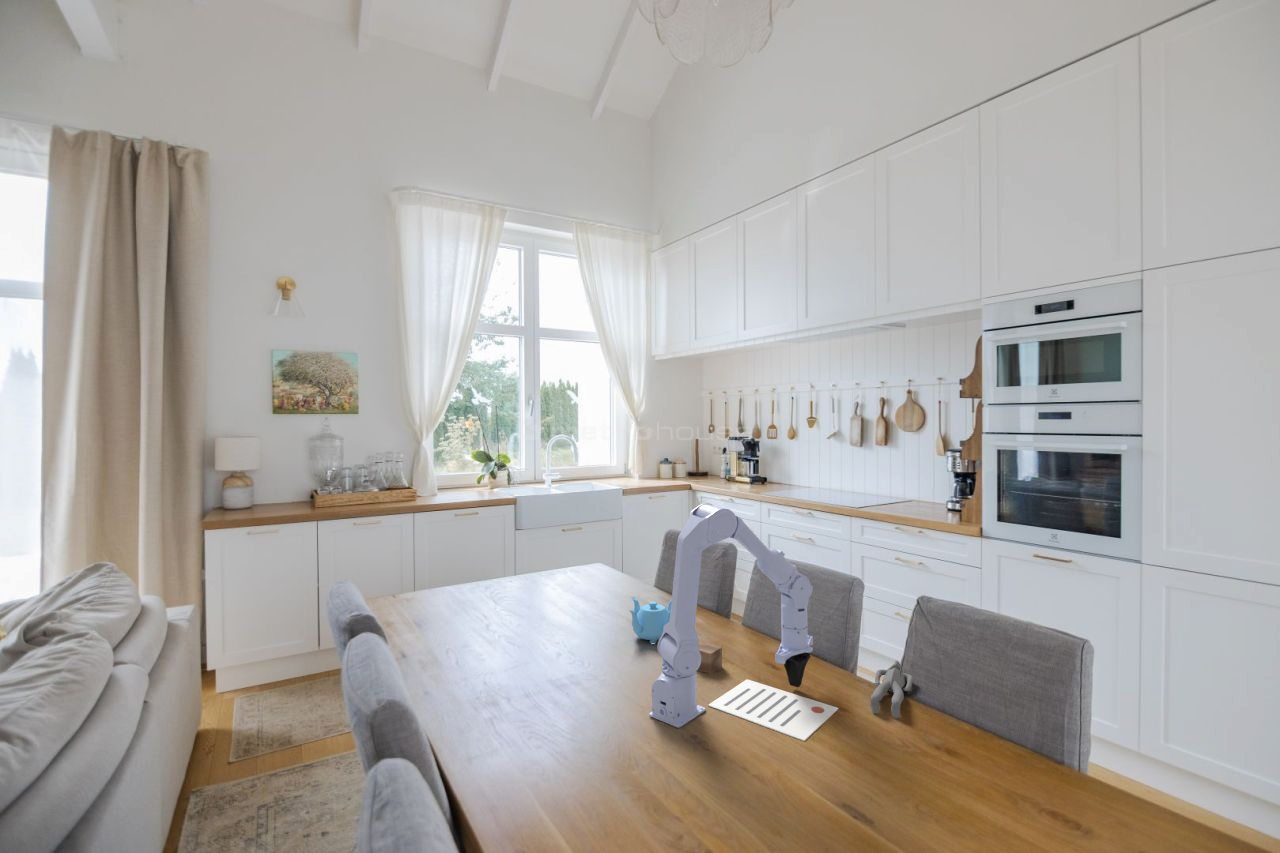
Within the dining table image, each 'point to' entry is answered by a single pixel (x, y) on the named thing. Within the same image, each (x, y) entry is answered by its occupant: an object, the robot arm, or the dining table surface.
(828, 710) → the white card
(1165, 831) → the dining table surface
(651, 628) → the teapot
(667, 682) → the robot arm
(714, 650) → the walnut cube
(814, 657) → the dining table surface
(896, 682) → the alien figure
